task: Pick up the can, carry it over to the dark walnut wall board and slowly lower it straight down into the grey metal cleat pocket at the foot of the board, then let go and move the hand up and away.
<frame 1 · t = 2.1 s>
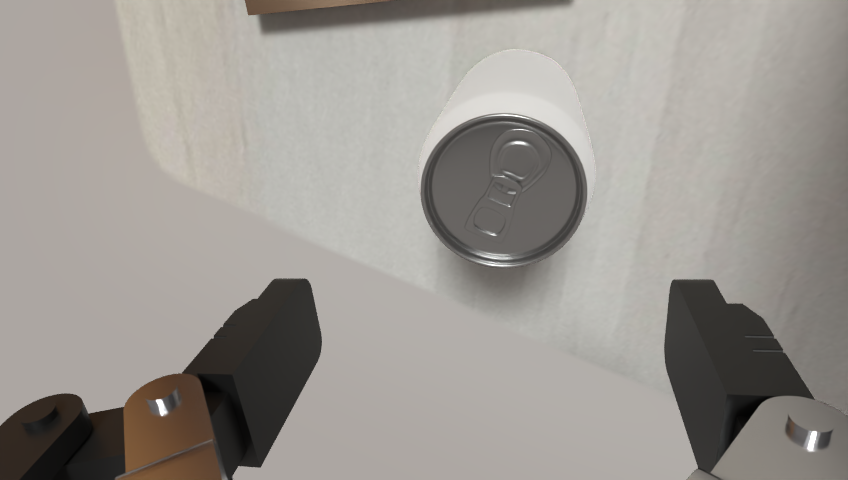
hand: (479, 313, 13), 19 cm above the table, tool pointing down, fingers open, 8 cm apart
can: (514, 110, 30), on the table
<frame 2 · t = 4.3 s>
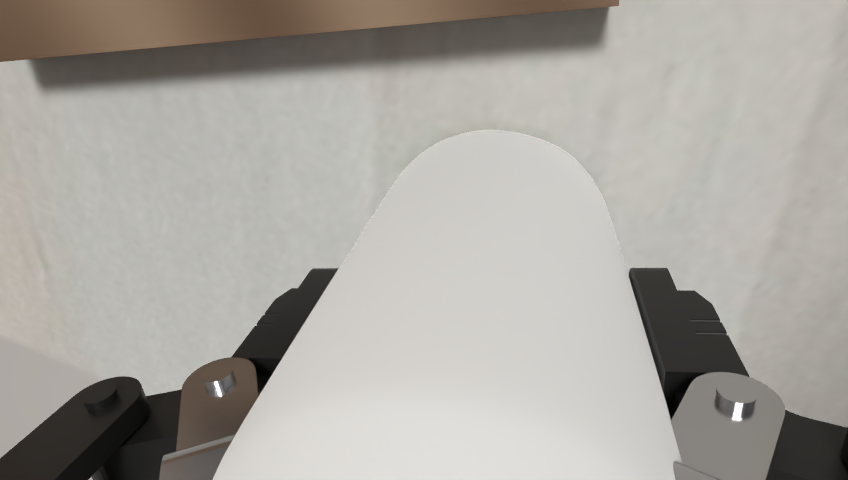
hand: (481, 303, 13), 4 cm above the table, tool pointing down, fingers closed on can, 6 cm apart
can: (493, 231, 17), on the table, touching gripper
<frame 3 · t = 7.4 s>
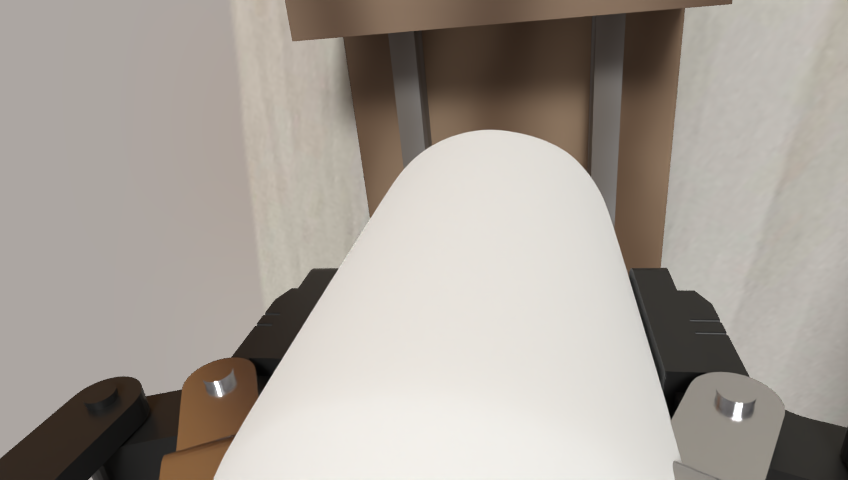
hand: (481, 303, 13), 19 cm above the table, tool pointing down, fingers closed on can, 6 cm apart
can: (493, 231, 17), point 15 cm above the table, touching gripper
wall board: (509, 136, 31), on the table
when the fingers open (6 cm above the table, at t = 10.4 s): can stays where it is, resting on wall board.
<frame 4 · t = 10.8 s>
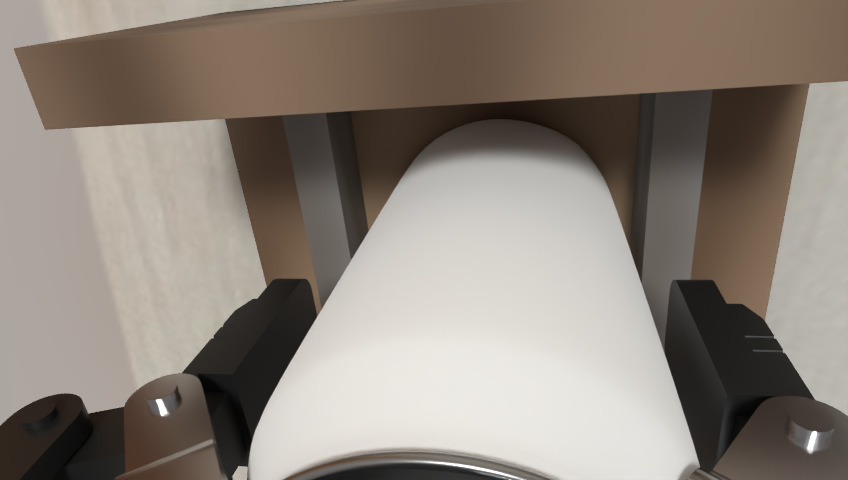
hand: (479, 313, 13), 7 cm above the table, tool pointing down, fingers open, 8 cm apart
can: (501, 217, 17), point 1 cm above the table, touching wall board
wall board: (498, 243, 19), on the table
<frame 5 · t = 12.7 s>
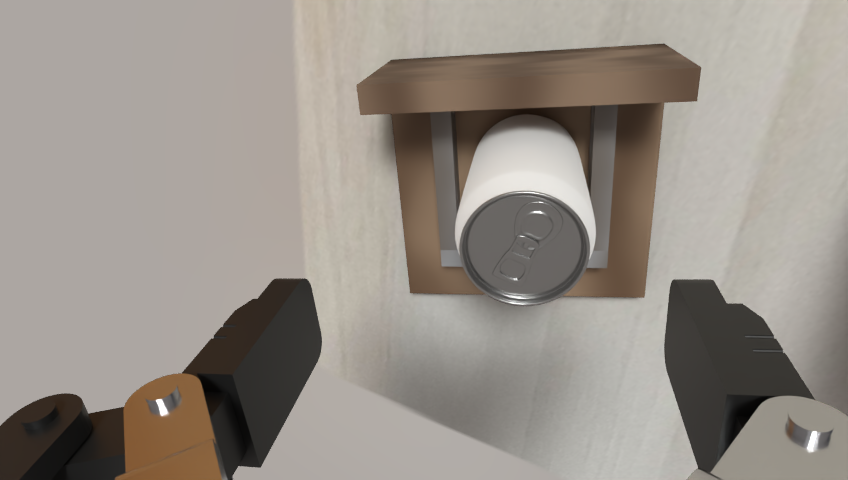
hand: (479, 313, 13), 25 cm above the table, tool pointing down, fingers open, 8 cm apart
can: (525, 162, 35), point 1 cm above the table, touching wall board
wall board: (522, 178, 37), on the table
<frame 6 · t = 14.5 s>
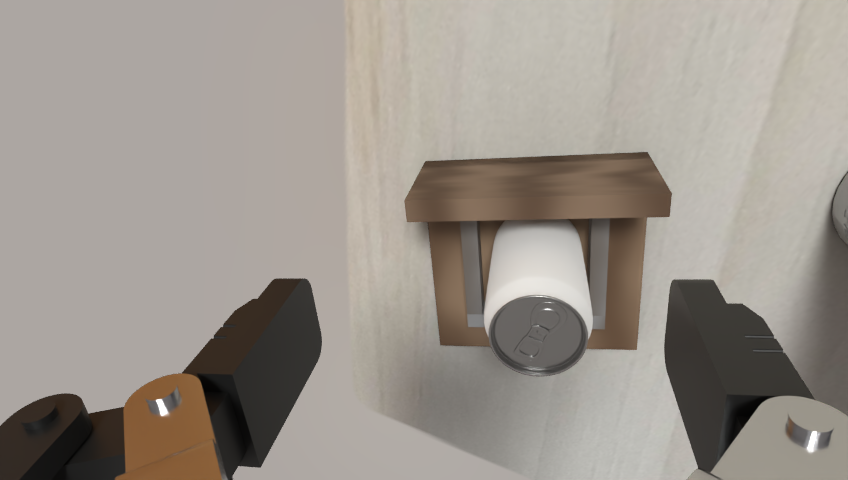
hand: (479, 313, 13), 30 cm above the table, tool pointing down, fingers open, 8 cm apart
can: (536, 243, 43), point 1 cm above the table, touching wall board
wall board: (533, 253, 45), on the table
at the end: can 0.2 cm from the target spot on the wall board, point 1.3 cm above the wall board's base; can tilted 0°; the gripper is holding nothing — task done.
